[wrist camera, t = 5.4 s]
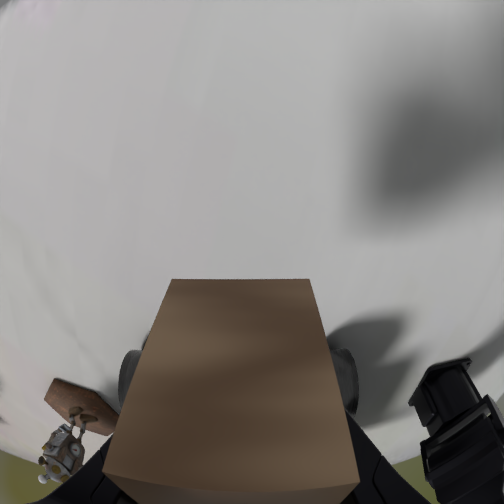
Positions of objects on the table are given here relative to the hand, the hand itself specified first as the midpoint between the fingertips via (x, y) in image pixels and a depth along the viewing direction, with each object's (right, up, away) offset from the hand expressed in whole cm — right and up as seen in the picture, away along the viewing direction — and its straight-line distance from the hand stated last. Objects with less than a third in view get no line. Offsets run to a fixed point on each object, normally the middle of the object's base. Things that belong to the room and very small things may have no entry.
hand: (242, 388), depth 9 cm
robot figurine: (-20, -14, +20) cm, 31 cm away
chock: (0, +1, +1) cm, 2 cm away
